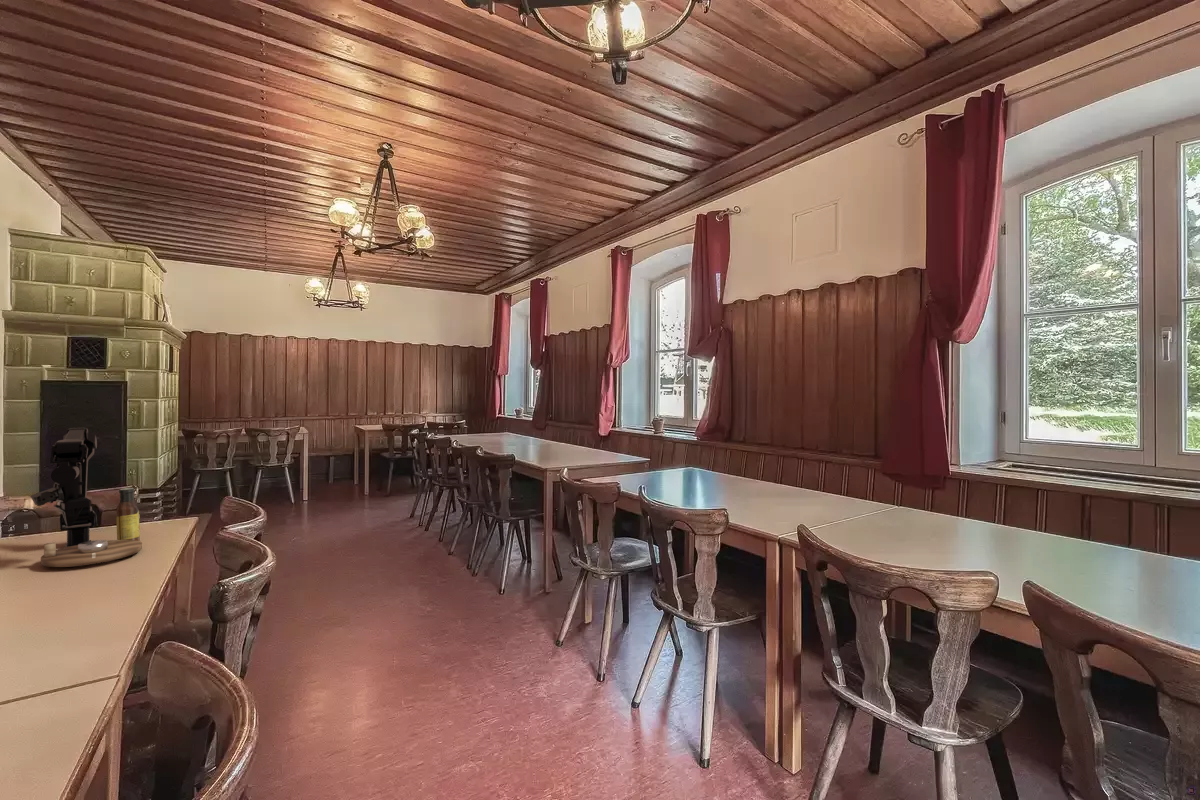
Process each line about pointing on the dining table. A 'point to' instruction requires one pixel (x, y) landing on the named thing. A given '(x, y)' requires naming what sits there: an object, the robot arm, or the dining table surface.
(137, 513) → the sauce bottle
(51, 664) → the dining table surface
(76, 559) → the turntable
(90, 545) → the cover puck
